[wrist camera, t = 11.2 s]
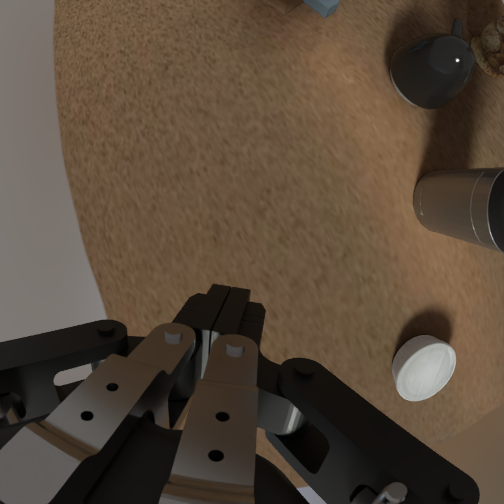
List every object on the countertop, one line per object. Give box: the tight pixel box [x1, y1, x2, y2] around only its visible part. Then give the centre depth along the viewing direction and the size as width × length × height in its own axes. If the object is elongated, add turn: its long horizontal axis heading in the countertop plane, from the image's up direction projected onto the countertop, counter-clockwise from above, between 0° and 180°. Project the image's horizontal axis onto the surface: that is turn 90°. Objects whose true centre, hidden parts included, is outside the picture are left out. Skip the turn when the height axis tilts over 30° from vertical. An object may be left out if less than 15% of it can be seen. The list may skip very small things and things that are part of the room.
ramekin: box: [392, 335, 456, 401], centre depth 43 cm, size 11×11×5 cm
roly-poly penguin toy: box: [390, 19, 476, 109], centre depth 29 cm, size 10×10×15 cm
